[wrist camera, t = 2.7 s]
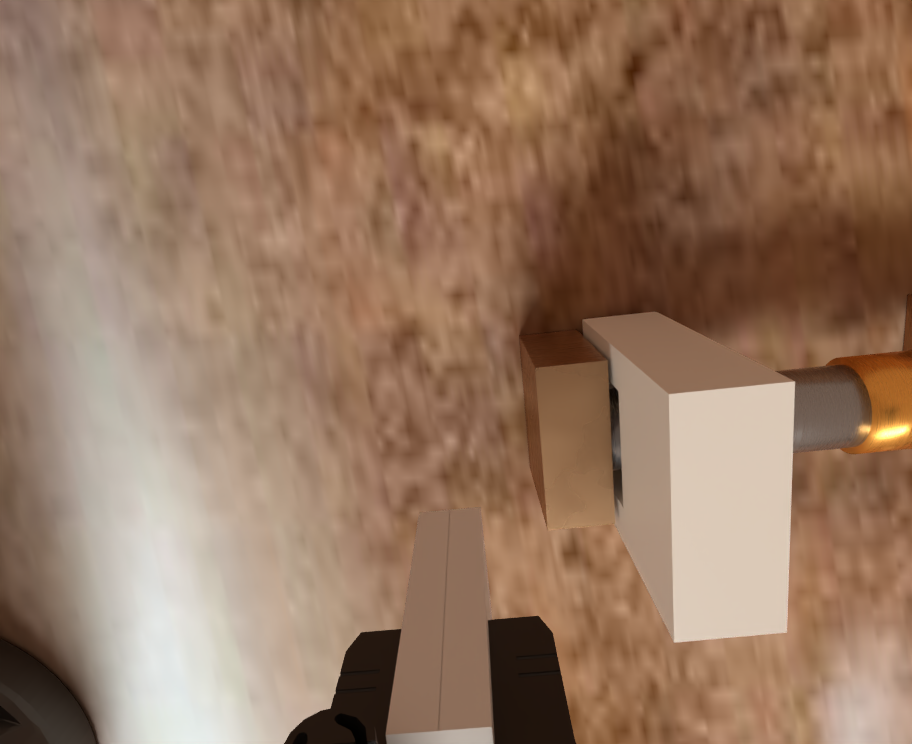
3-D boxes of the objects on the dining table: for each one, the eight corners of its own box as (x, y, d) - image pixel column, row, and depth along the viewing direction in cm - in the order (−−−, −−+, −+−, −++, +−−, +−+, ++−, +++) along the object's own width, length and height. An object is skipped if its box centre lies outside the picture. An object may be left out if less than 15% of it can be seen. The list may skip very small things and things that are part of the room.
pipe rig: (530, 468, 27) (548, 533, 22) (518, 335, 26) (536, 369, 20) (953, 426, 27) (1084, 482, 21) (967, 288, 25) (1112, 310, 20)
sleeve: (591, 477, 27) (673, 642, 17) (582, 319, 25) (668, 394, 15) (660, 470, 27) (786, 632, 16) (656, 311, 25) (794, 381, 15)
